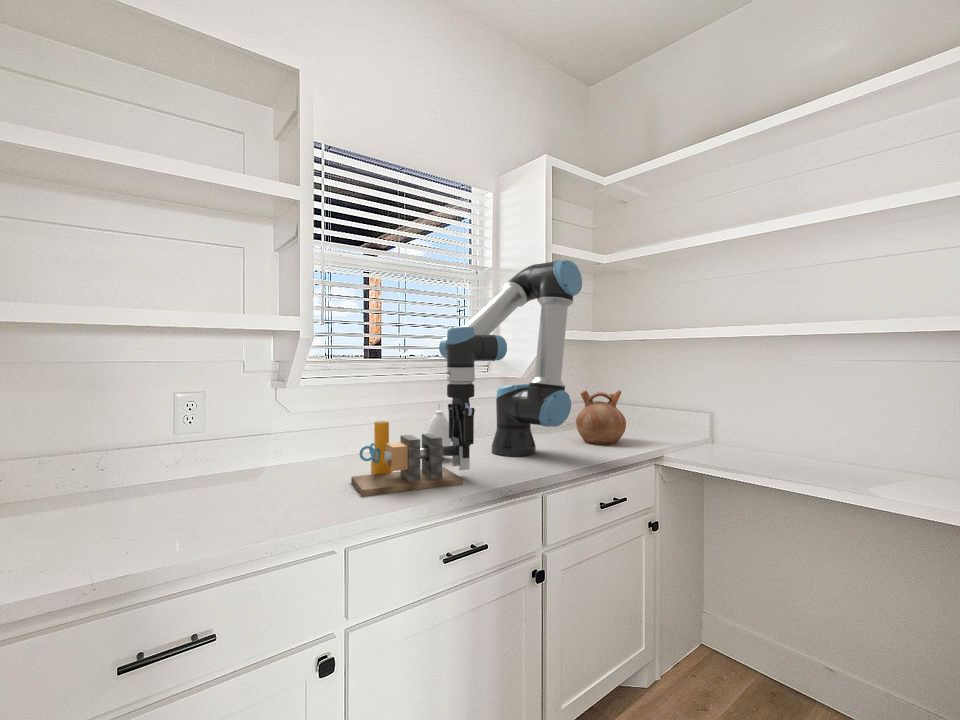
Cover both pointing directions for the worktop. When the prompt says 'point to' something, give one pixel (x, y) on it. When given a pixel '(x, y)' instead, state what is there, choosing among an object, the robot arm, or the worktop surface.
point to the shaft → (446, 451)
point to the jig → (411, 470)
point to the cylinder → (378, 449)
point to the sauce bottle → (440, 427)
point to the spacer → (398, 456)
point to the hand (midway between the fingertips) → (460, 467)
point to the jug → (601, 420)
